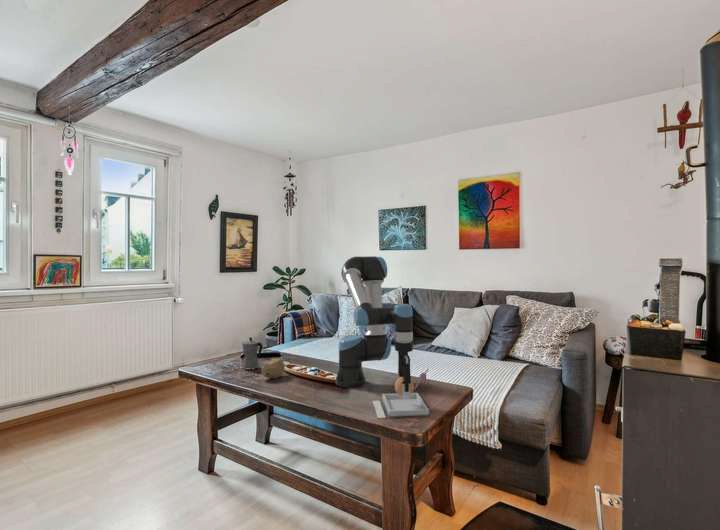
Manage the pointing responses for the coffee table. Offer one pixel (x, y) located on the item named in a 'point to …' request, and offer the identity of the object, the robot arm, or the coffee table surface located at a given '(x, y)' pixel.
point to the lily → (422, 378)
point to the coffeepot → (251, 353)
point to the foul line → (379, 409)
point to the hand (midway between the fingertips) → (404, 395)
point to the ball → (400, 386)
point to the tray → (404, 405)
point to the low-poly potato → (273, 368)
